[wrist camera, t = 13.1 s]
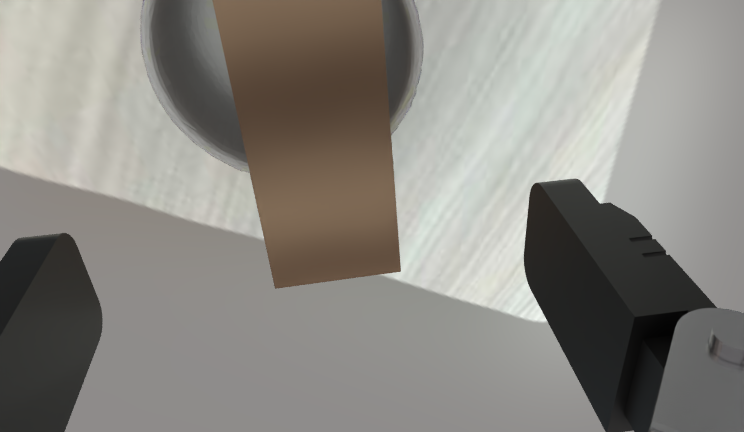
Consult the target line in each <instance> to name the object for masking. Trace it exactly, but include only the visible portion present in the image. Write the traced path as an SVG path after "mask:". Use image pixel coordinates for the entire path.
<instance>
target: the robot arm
mask: <svg viewBox="0 0 744 432" xmlns="http://www.w3.org/2000/svg"><path fill="white" fill-rule="evenodd" d="M524 266H525V273H526V277H527V281H528V284H529V287H530V289H531V291H532V293H533V295H534V296H535V298H536V300H537V302H538V304H539V306H540V308H541V310H542V312H543V314H544V315H545V317H546V319H547V321H548V323H549V325H550V327H551V329H552V331H553V332H554V334H555V336H556V338H557V340H558V342H559V344H560V346H561V348H562V350H563V352H564V353H565V355H566V357H567V359H568V361H569V363H570V365H571V367H572V369H573V371H574V372H575V374H576V376H577V378H578V380H579V382H580V384H581V386H582V388H583V390H584V391H585V393H586V395H587V397H588V399H589V401H590V403H591V405H592V407H593V409H594V411H595V412H596V414H597V416H598V418H599V420H600V422H601V424H602V426H603V427H604V429H605V431H606V432H625V431H632V430H634V432H744V313H741V312H738V311H734V310H729V309H721V308H717V307H716V306H715V305H714V304H713V303H712V302H711V301H710V300H709V298H708V297H707V296H706V295H705V294H704V293H703V292H702V291H701V289H700V288H699V287H698V286H697V285H696V284H695V283H694V282H693V281H692V279H691V278H689V276H688V275H687V274H686V273H685V272H684V271H683V269H682V268H681V267H680V266H679V265H678V264H677V263H676V262H675V261H674V260H673V258H672V257H671V256H670V255H666V251H665V250H664V248H663V247H662V246H661V245H660V244H659V243H658V242H657V241H656V239H652V235H651V234H650V233H649V232H648V231H647V229H646V228H645V227H644V226H643V225H642V224H641V223H640V222H639V221H638V219H636V218H635V217H634V216H632V215H631V214H629V213H627V212H625V211H624V210H622V209H620V208H618V207H617V206H615V205H613V204H611V203H603V204H600V203H599V202H598V201H597V200H596V199H595V197H594V196H593V195H592V194H591V193H590V192H589V190H588V189H587V188H586V187H585V186H584V184H583V183H582V182H581V181H580V180H578V179H568V180H559V181H550V182H541V183H535V184H534V185H533V186H532V188H531V192H530V197H529V208H528V218H527V228H526V238H525V249H524ZM101 332H102V311H101V306H100V303H99V300H98V297H97V295H96V293H95V290H94V287H93V285H92V282H91V280H90V277H89V275H88V272H87V270H86V267H85V265H84V262H83V260H82V257H81V255H80V252H79V250H78V247H77V245H76V243H75V241H74V239H73V238H72V237H71V236H70V235H69V234H67V233H61V234H52V235H43V236H34V237H25V238H19V239H17V240H15V241H14V243H13V244H12V245H11V247H10V248H9V250H8V251H7V253H6V254H5V256H4V257H3V258H2V260H1V261H0V432H64V431H65V429H66V426H67V424H68V421H69V418H70V416H71V413H72V411H73V408H74V405H75V403H76V400H77V397H78V395H79V392H80V390H81V387H82V384H83V382H84V379H85V377H86V374H87V371H88V369H89V366H90V364H91V361H92V358H93V356H94V353H95V350H96V348H97V345H98V342H99V340H100V337H101Z"/></svg>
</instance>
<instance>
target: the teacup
mask: <svg viewBox="0 0 744 432" xmlns="http://www.w3.org/2000/svg"><path fill="white" fill-rule="evenodd" d="M381 3H382V17H383V31H384V45H385V59H386V73H387V87H388V101H389V115H390V129H391V135H392V133H393V132H394V131H395V130H396V129H397V127H398V125H399V124H400V122H401V121H402V120H403V118H404V117H405V115H406V113H407V112H408V110H409V108H410V107H411V104H412V100H413V98H414V96H415V94H416V88H417V85H418V83H419V78H420V74H421V65H422V61H423V37H422V31H421V26H420V21H419V16H418V11H417V8H416V5H415V2H414V0H381ZM141 48H142V55H143V58H144V62H145V67H146V71H147V75H148V77H149V80H150V82H151V85H152V88H153V90H154V92H155V94H156V95H157V97H158V99H159V101H160V103H161V105H162V106H163V108H164V109H165V111H166V112H167V114H168V115H169V117H170V118H171V120H172V121H173V122H174V123H175V124H176V125H177V126H178V127H179V128H180V130H181V131H183V132H184V133H185V134H186V135H187V136H188V137H189V138H190V139H191V140H192V141H193V142H194V143H196V144H197V145H198V146H200V147H201V148H202V149H204V150H205V151H206V152H207V153H209V154H210V155H212V156H213V157H215V158H217V159H219V160H221V161H222V162H224V163H226V164H228V165H230V166H232V167H234V168H236V169H238V170H240V171H245V172H249V173H250V171H249V166H248V162H247V157H246V153H245V148H244V143H243V139H242V134H241V130H240V125H239V120H238V116H237V111H236V107H235V102H234V98H233V93H232V88H231V84H230V79H229V75H228V70H227V65H226V61H225V56H224V52H223V47H222V42H221V38H220V33H219V29H218V24H217V20H216V15H215V10H214V6H213V1H212V0H143V6H142V12H141Z"/></svg>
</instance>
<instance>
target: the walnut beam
mask: <svg viewBox="0 0 744 432" xmlns="http://www.w3.org/2000/svg"><path fill="white" fill-rule="evenodd" d="M212 1H213V6H214V10H215V15H216V20H217V24H218V29H219V33H220V38H221V42H222V47H223V52H224V56H225V61H226V65H227V70H228V75H229V79H230V84H231V88H232V93H233V98H234V102H235V107H236V111H237V116H238V120H239V125H240V130H241V134H242V139H243V143H244V148H245V153H246V157H247V162H248V166H249V171H250V175H251V180H252V185H253V189H254V194H255V198H256V203H257V208H258V212H259V217H260V221H261V226H262V230H263V235H264V240H265V244H266V249H267V253H268V258H269V262H270V267H271V271H272V276H273V281H274V286H275V288H283V287H291V286H298V285H305V284H313V283H319V282H327V281H334V280H342V279H349V278H356V277H364V276H371V275H378V274H386V273H393V272H400V271H401V268H400V254H399V240H398V226H397V212H396V198H395V184H394V170H393V156H392V143H391V129H390V115H389V101H388V87H387V73H386V59H385V45H384V31H383V17H382V3H381V0H212Z"/></svg>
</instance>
